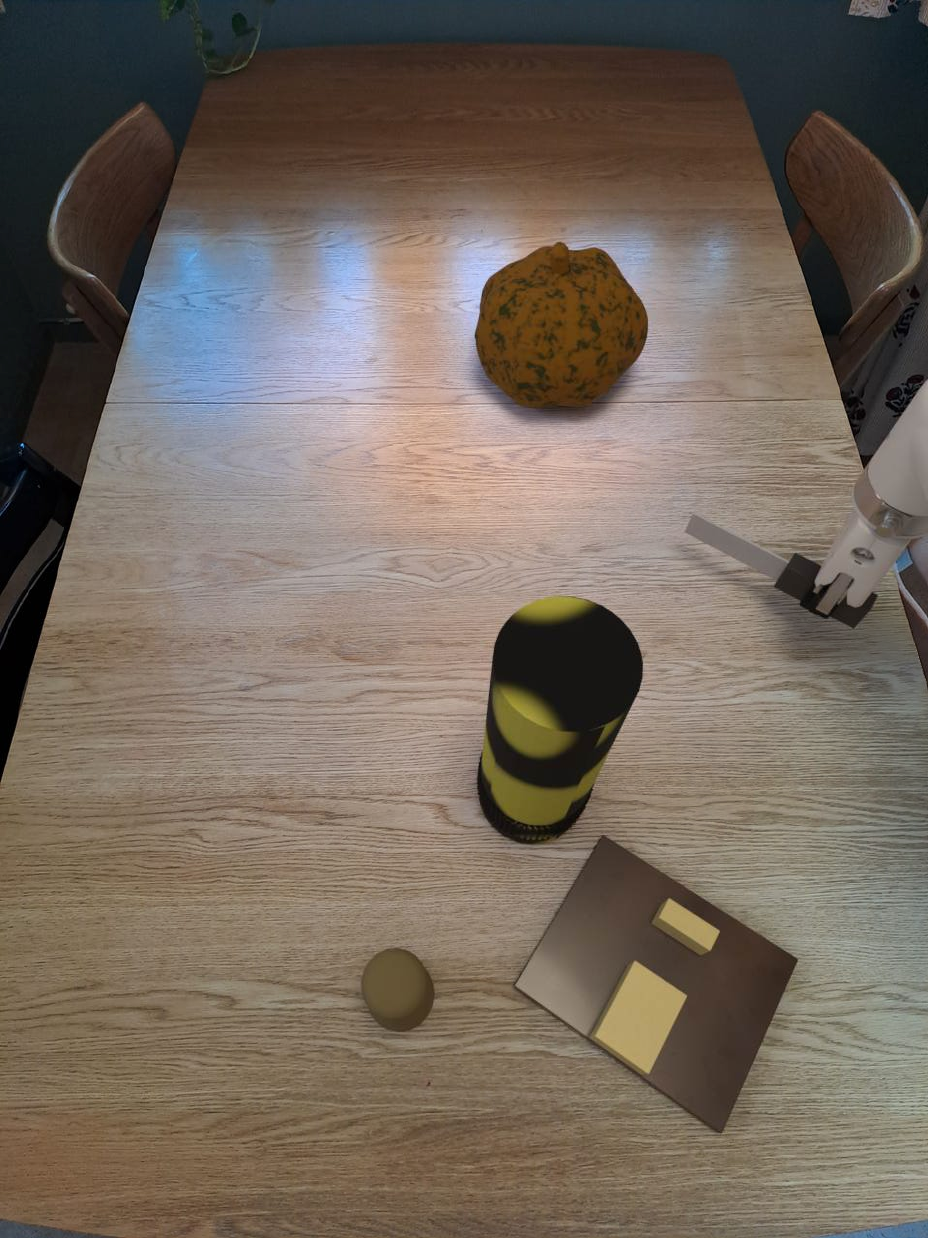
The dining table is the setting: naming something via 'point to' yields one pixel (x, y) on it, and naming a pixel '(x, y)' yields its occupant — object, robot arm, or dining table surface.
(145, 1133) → the dining table surface
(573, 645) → the container
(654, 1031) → the butter stick
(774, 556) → the knife
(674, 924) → the butter slice
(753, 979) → the cutting board
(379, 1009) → the cork
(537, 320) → the decorative pumpkin
